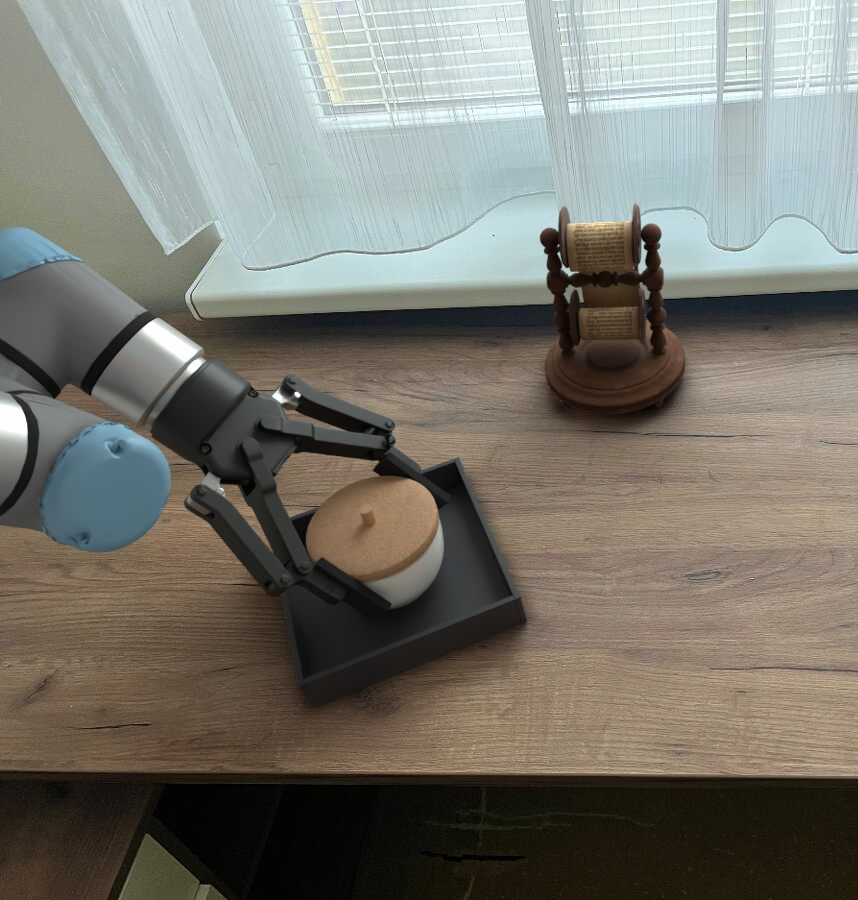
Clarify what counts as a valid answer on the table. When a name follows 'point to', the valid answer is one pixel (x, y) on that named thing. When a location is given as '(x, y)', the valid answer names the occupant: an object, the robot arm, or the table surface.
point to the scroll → (609, 317)
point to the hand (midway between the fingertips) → (414, 556)
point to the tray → (406, 606)
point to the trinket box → (381, 536)
